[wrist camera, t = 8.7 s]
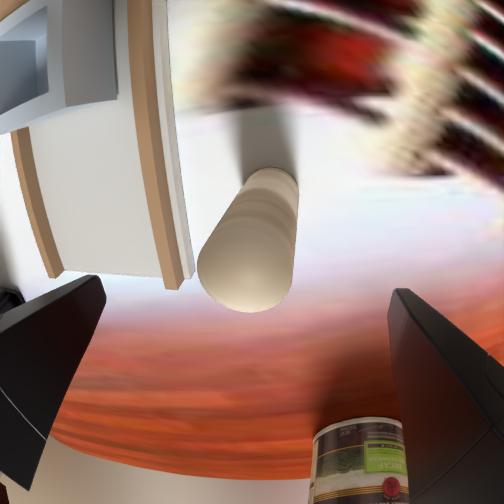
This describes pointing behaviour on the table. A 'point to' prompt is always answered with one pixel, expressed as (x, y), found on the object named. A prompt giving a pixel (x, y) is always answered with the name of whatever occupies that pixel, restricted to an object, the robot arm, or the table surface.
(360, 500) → the coffee can
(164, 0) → the tan wooden u-shaped frame
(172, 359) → the table surface
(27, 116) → the block
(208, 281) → the dowel
